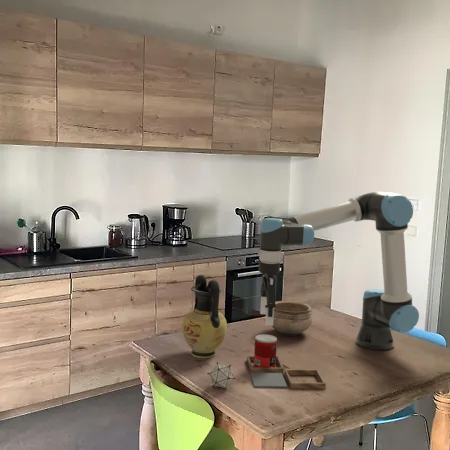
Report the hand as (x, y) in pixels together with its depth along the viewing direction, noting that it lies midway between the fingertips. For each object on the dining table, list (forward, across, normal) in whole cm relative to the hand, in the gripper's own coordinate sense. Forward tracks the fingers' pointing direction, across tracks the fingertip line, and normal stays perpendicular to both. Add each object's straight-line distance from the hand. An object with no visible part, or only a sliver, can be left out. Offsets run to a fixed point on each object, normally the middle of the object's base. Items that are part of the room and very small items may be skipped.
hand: (266, 319), depth 195 cm
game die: (+18, +18, -17) cm, 30 cm away
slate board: (+18, +12, 0) cm, 22 cm away
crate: (+18, 0, 0) cm, 18 cm away
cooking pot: (+18, -38, +16) cm, 45 cm away
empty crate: (+18, +12, +12) cm, 25 cm away
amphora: (+18, -12, -22) cm, 31 cm away
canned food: (+18, 0, 0) cm, 18 cm away
